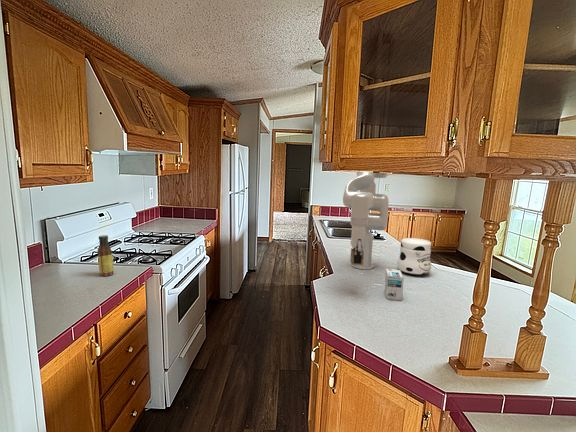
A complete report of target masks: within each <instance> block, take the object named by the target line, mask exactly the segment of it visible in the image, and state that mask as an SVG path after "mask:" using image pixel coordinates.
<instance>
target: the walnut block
mask: <svg viewBox="0 0 576 432" xmlns="http://www.w3.org/2000/svg"><path fill="white" fill-rule="evenodd" d="M357 250H358V249H357ZM357 250H356V251H357ZM354 254H355V249H353V248H350V264H351V266H352V265H363V256H364V252H363V249H362V259H361V264H357V263H354Z"/></svg>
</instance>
